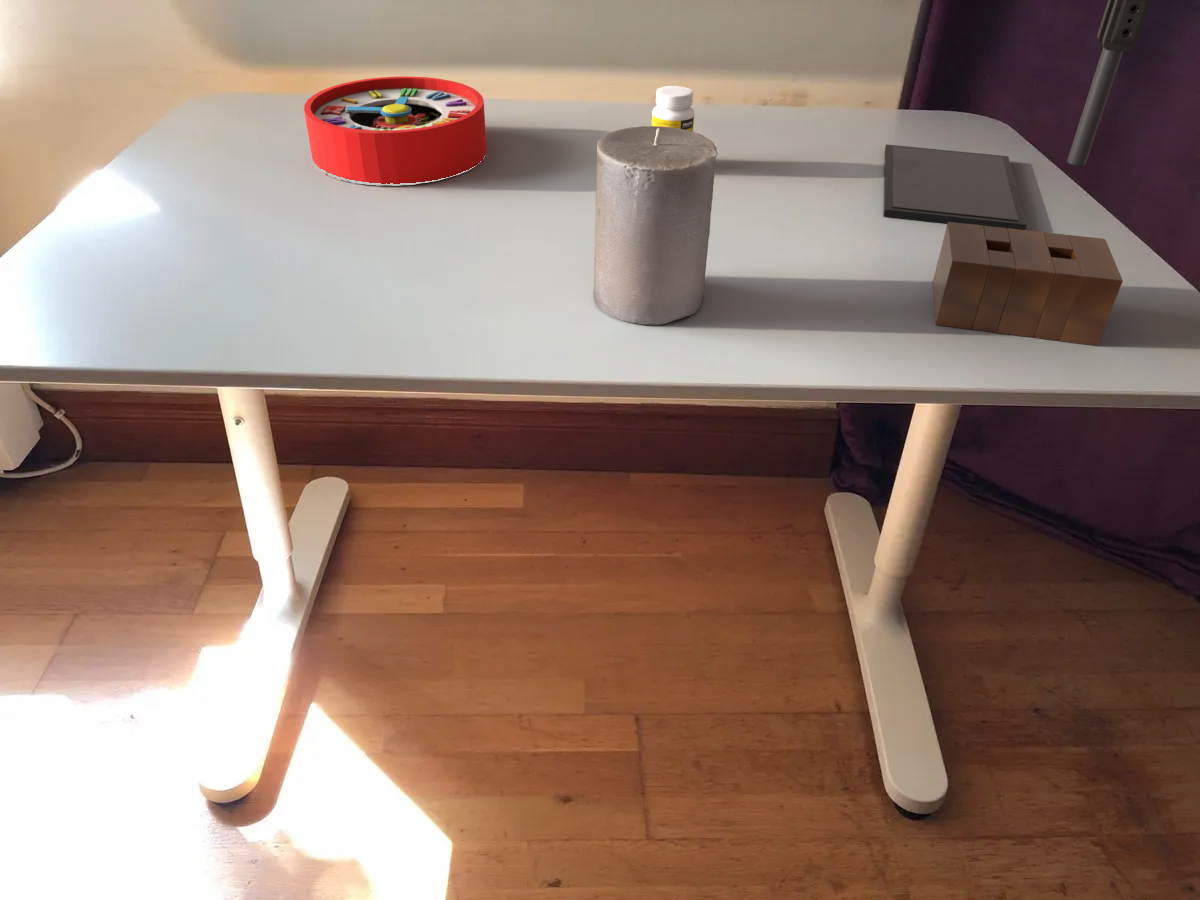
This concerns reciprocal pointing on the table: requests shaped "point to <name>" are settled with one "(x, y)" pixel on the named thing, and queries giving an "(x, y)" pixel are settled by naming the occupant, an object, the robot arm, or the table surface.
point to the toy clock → (396, 129)
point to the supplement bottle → (674, 108)
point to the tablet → (951, 187)
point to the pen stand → (1025, 283)
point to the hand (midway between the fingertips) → (1114, 45)
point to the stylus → (1094, 106)
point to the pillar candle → (652, 222)
